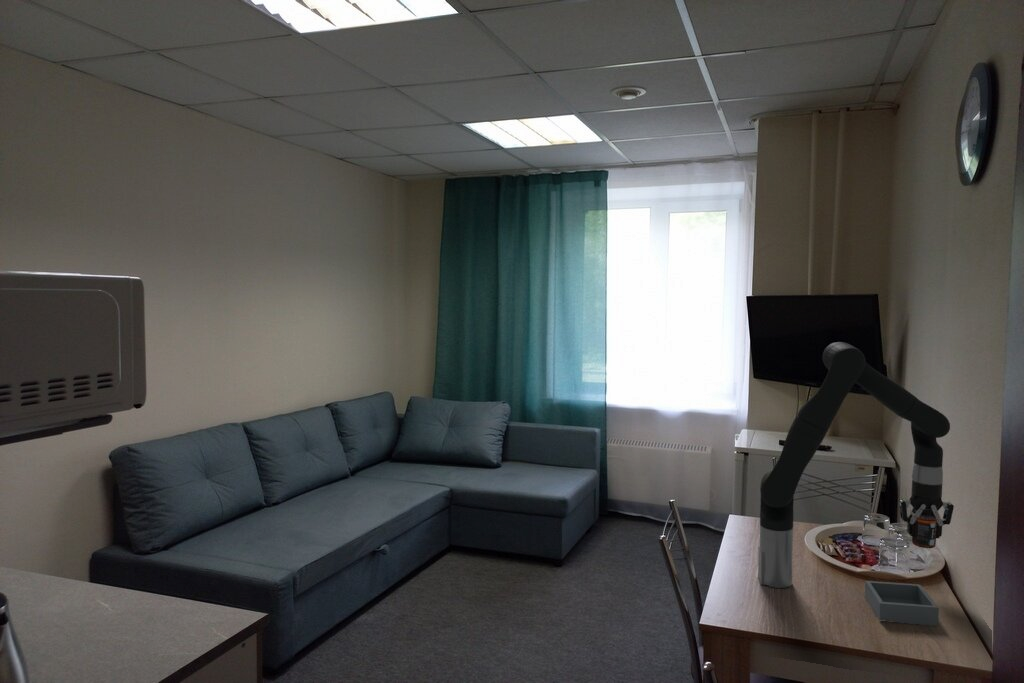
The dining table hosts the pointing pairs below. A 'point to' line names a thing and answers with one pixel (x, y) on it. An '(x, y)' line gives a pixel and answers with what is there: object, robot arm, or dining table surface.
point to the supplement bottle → (925, 530)
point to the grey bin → (901, 603)
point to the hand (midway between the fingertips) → (924, 536)
